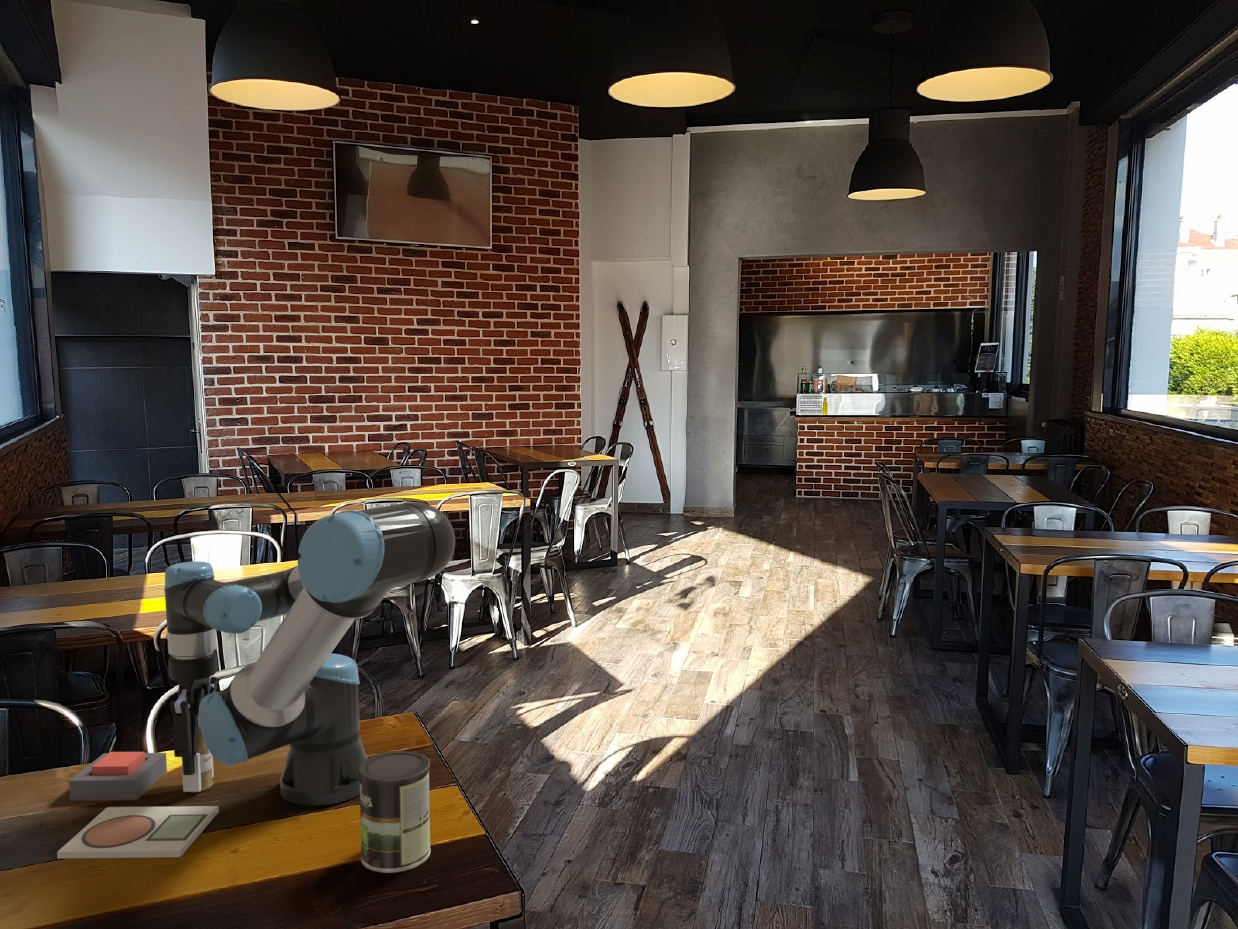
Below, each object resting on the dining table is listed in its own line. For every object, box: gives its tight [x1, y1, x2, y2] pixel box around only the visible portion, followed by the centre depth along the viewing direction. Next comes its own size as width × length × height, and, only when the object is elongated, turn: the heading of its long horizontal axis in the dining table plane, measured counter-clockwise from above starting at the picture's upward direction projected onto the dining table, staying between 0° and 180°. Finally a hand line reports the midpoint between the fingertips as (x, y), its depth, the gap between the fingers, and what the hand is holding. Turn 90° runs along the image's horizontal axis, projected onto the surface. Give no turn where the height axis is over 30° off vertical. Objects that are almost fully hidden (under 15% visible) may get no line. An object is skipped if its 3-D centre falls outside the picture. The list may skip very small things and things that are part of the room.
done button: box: [92, 751, 146, 775], centre depth 160 cm, size 6×6×3 cm
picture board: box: [56, 805, 220, 859], centre depth 143 cm, size 18×14×1 cm
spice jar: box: [197, 717, 214, 793], centre depth 159 cm, size 5×5×14 cm
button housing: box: [68, 752, 168, 802], centre depth 160 cm, size 11×11×4 cm
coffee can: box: [358, 750, 432, 874], centre depth 137 cm, size 10×10×14 cm
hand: (198, 783), depth 159 cm, fingers closed on spice jar, 4 cm apart
